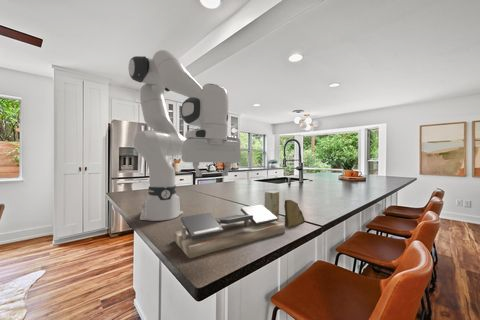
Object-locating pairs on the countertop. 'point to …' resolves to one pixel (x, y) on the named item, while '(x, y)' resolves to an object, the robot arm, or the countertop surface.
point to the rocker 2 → (259, 214)
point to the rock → (292, 213)
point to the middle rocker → (234, 219)
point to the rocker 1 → (201, 225)
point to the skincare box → (272, 202)
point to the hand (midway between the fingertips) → (212, 176)
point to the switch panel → (226, 237)
